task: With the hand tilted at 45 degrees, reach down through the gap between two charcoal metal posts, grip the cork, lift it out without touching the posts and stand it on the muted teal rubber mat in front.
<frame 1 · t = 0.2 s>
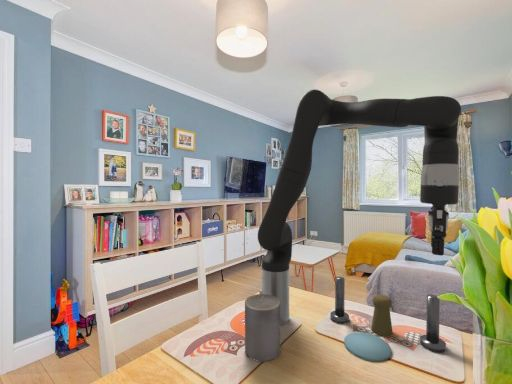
hand: (436, 251, 63), 29 cm above the table, tool pointing down, fingers open, 8 cm apart
pillar candle: (262, 351, 72), on the table
teal mat: (366, 346, 73), on the table
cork: (381, 332, 81), on the table
gap posts: (381, 331, 81), on the table
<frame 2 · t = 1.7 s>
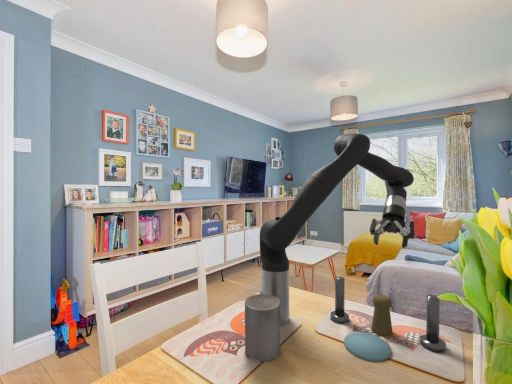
hand: (389, 245, 91), 24 cm above the table, tool tilted 45°, fingers open, 8 cm apart
nothing on the table moved.
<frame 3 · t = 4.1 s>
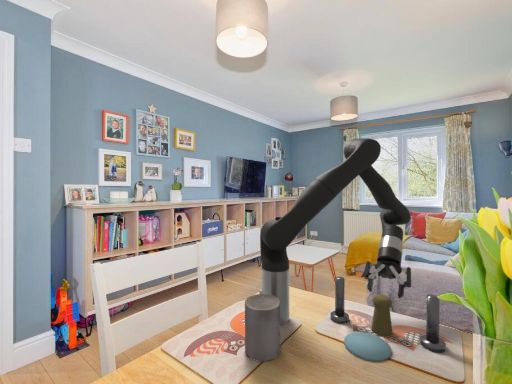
hand: (384, 294, 85), 10 cm above the table, tool tilted 45°, fingers open, 8 cm apart
nothing on the table moved.
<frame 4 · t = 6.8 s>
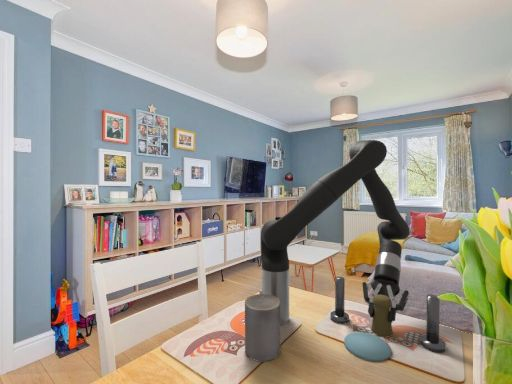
hand: (380, 318, 79), 5 cm above the table, tool tilted 45°, fingers closed on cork, 4 cm apart
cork: (381, 332, 81), on the table, touching gripper
everything else where it was.
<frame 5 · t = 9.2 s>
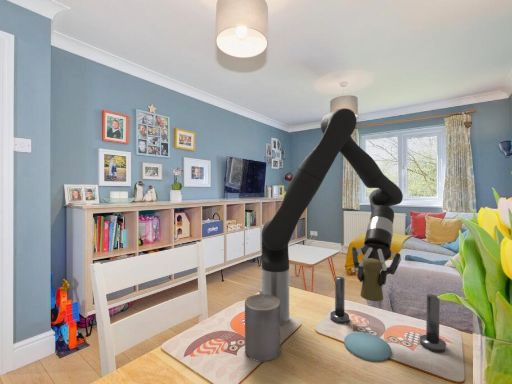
hand: (370, 282, 74), 18 cm above the table, tool tilted 45°, fingers closed on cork, 4 cm apart
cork: (371, 297, 76), point 13 cm above the table, touching gripper
everything else where it was.
when the fingers open (7 cm above the table, at t = 12.0 s): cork drops 1 cm, resting on teal mat.
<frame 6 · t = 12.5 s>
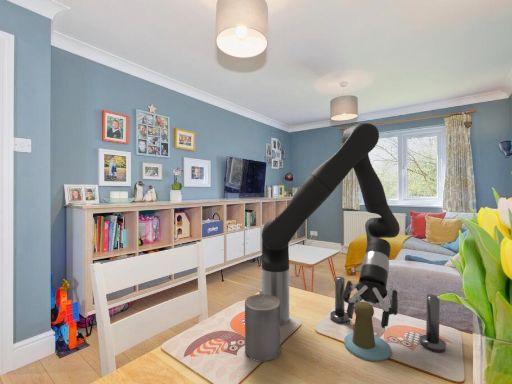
hand: (365, 322, 72), 8 cm above the table, tool tilted 45°, fingers open, 8 cm apart
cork: (363, 343, 74), point 1 cm above the table, touching teal mat
everything else where it was.
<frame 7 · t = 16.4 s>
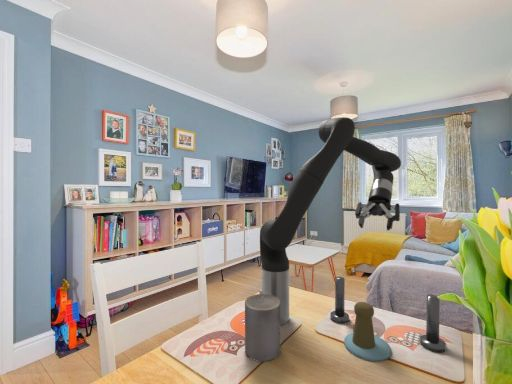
hand: (374, 227, 90), 31 cm above the table, tool tilted 45°, fingers open, 8 cm apart
nothing on the table moved.
at the end: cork 0.9 cm off-centre on the teal mat, point 0.6 cm above the teal mat's base; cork tilted 0°; the gripper is holding nothing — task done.
